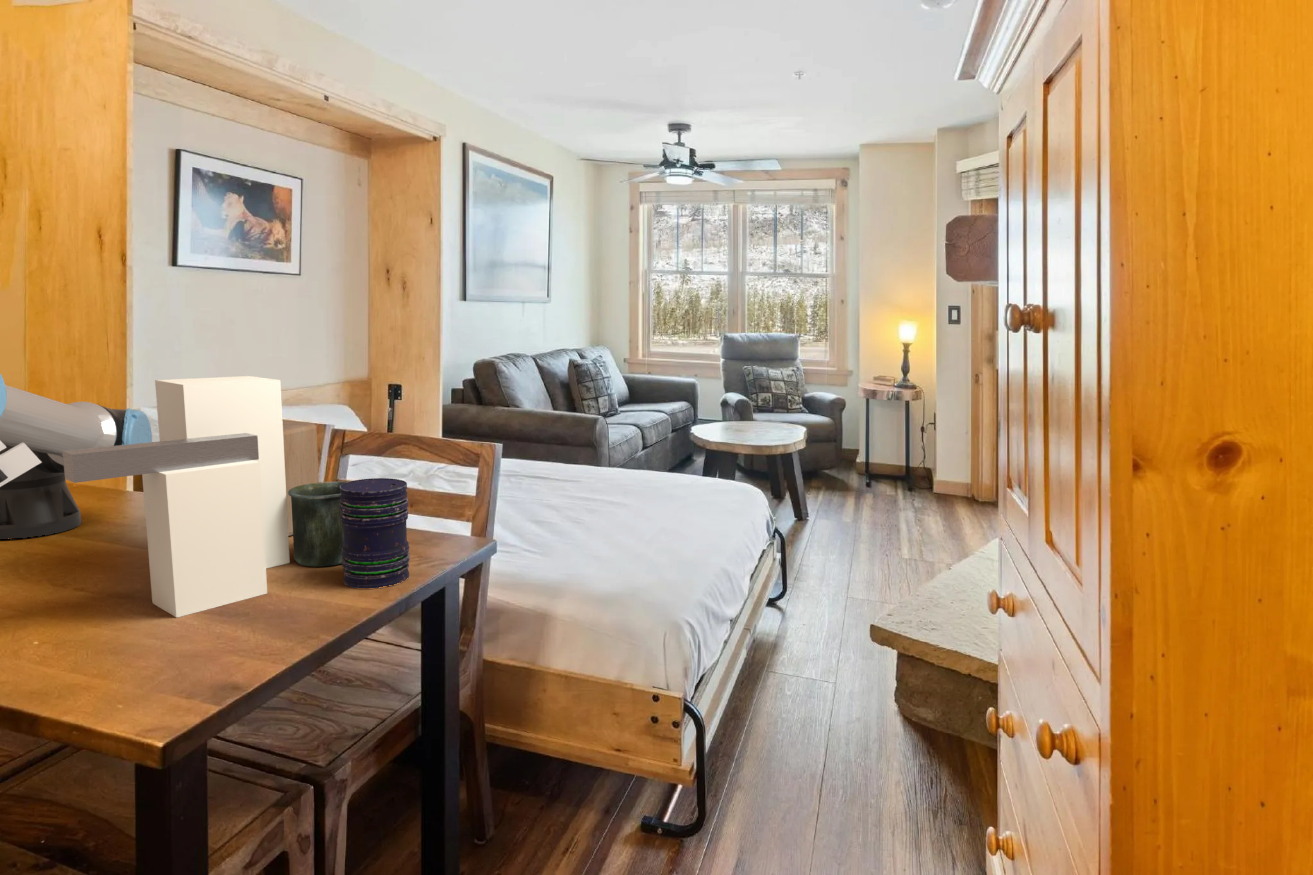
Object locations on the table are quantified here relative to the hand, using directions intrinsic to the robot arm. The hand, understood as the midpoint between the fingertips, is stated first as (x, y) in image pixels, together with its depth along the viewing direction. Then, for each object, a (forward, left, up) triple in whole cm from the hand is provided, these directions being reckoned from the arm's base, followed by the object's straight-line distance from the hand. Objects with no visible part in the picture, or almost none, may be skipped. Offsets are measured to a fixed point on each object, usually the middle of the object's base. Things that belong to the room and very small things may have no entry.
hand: (14, 444), depth 89 cm
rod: (0, +16, -5) cm, 17 cm away
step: (0, +20, -25) cm, 32 cm away
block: (-27, +44, -25) cm, 57 cm away
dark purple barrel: (+10, +40, -25) cm, 48 cm away
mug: (-5, +42, -25) cm, 49 cm away
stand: (-12, +28, -25) cm, 39 cm away
